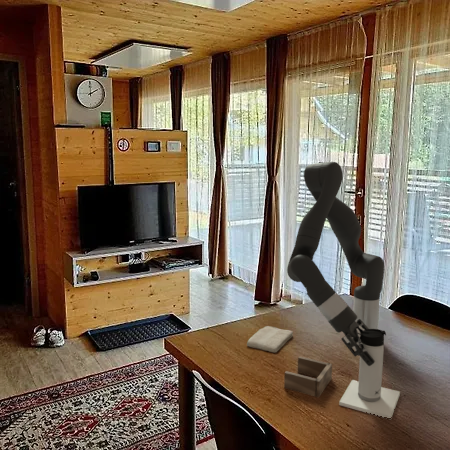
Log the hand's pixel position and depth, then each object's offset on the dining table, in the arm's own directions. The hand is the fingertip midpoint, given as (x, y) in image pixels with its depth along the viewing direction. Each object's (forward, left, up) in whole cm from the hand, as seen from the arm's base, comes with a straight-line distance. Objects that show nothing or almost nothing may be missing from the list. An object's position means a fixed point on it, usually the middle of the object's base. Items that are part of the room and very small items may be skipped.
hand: (375, 357), depth 128 cm
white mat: (0, -1, -13) cm, 13 cm away
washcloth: (-23, -42, -14) cm, 50 cm away
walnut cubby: (0, -20, -13) cm, 24 cm away
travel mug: (0, -1, -12) cm, 12 cm away
